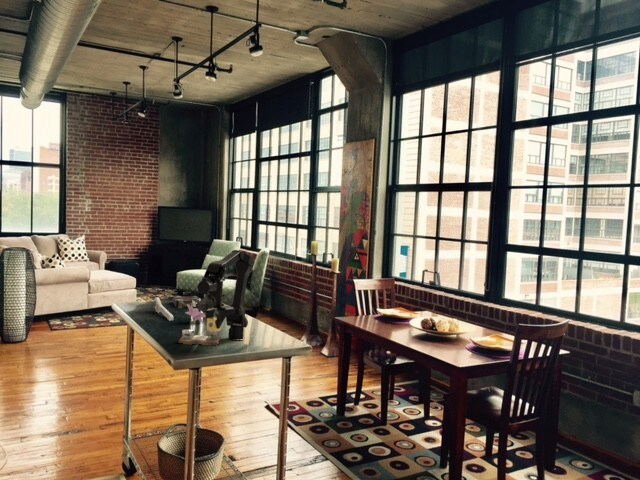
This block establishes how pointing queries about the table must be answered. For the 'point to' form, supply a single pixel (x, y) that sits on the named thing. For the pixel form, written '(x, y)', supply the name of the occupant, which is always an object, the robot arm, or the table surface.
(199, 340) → the base plate
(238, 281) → the robot arm
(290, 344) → the table surface
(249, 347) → the table surface
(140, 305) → the table surface
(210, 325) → the yellow knobbed block
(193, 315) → the lily
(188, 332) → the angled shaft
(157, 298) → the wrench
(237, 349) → the table surface
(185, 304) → the book
